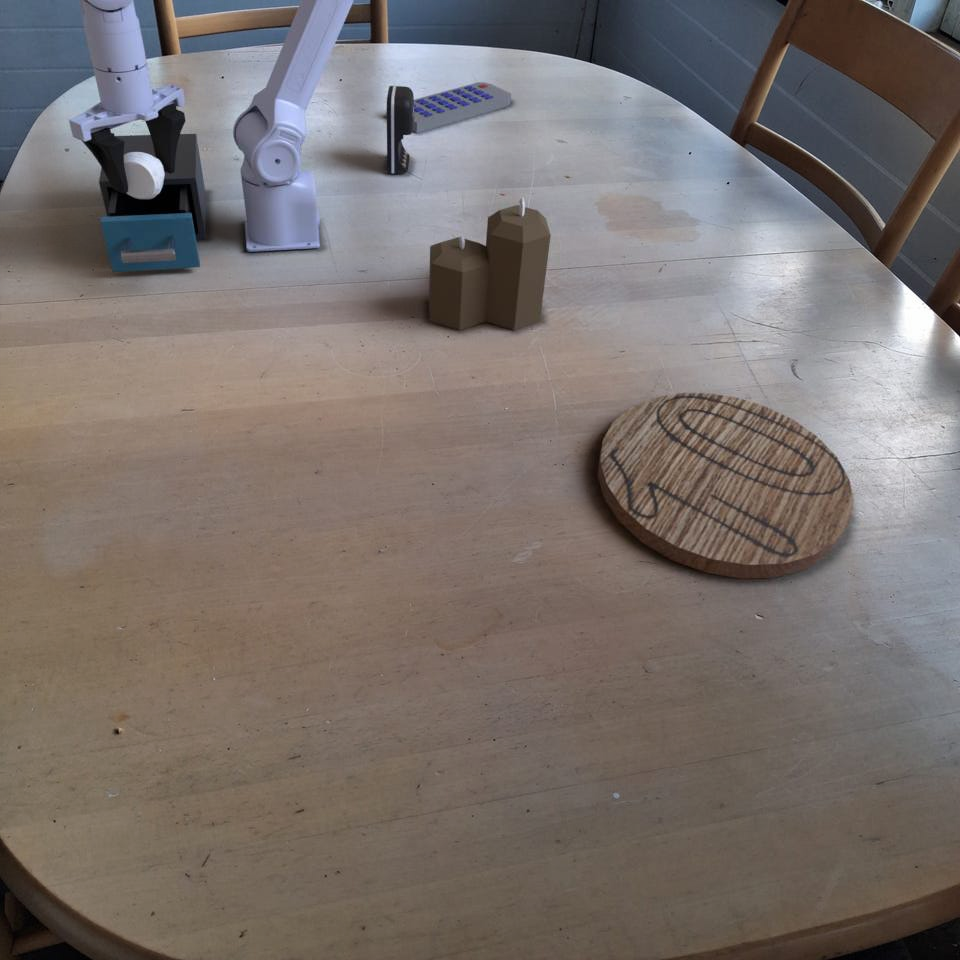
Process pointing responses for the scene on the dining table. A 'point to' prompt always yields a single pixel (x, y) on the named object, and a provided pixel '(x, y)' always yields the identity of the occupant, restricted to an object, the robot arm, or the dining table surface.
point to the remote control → (457, 105)
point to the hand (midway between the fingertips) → (143, 180)
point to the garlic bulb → (143, 175)
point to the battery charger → (398, 127)
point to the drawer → (151, 231)
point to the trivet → (724, 485)
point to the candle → (492, 273)
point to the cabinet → (184, 173)
